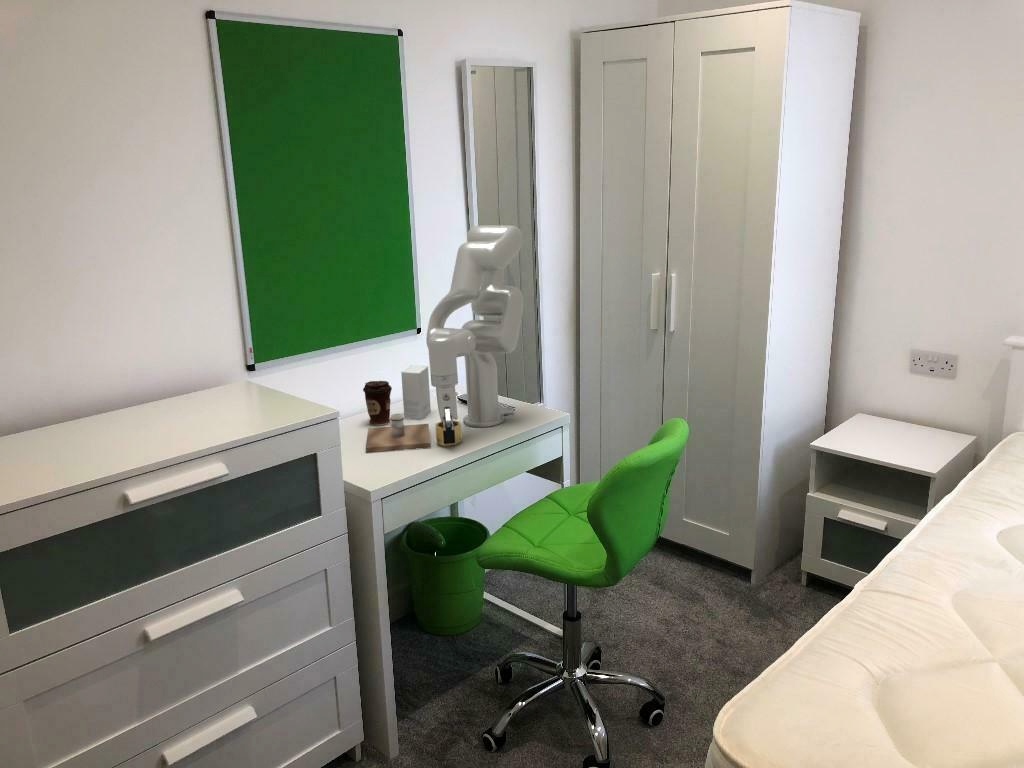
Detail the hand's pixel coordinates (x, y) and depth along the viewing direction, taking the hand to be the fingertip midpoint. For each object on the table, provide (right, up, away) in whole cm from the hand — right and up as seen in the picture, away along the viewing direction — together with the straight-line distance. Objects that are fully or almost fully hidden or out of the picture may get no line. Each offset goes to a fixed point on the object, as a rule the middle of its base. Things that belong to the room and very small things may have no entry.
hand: (448, 438), depth 237 cm
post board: (-15, -1, +5) cm, 16 cm away
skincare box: (-12, +5, +28) cm, 31 cm away
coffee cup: (-23, +3, +22) cm, 32 cm away
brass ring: (0, -1, 0) cm, 1 cm away
